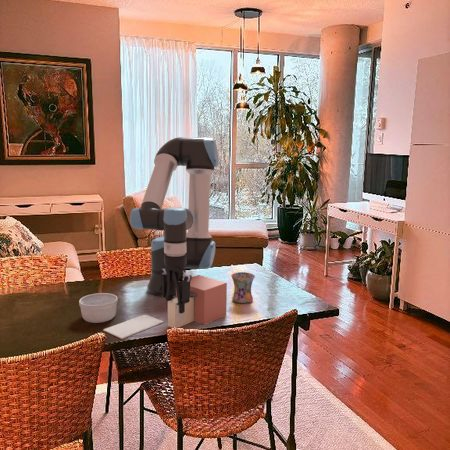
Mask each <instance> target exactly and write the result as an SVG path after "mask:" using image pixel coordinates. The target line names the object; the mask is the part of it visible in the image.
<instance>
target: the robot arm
mask: <svg viewBox="0 0 450 450" xmlns="http://www.w3.org/2000/svg"><path fill="white" fill-rule="evenodd" d="M158 149H159V150H158V151H157V152H156V154H155V156H154V159H153V160H154V161H153V162H154V168H153V170H152V172H151V175H150V179H149V182H148V184H147V186H146V187H147V188H146V191H145V193H144V195H143V198H142V202H141V204H140V207H136V208H132V209H131V211H130V214H129V223H130V226H131V227H132V228H133V229H135V230H143V231H144V230H147V231H148V230H149V231H151V230H153V231H163V235H162V236H159V237H156V238H154V239H152V240H151V244H150V265H151V266H150V267H151V268H150V269H151V272H150V273H151V274H150V277H149V280H148V284H147V293H148V294H150V295H153V296H156V297H157V296H158V297H162V298H164V299H165V300H166V309H167V310H168V301H170V300H173V299H175V298H176V291H177V299H178V303H177V304H176V322H177V323H179V322H181V321H184V312H185V303H188V302H189V301H190V281H191V279H192V277H193V276H192V274H188V273H187V271H186V269H195V270H196V269H198V270H208V269H210V268H211V267H212V266H213V262H214V259H215V255H216V245H217V244H216V242H215V241H214V240H213V236H212V234H210V233H209V227H210V226H209V225H210V219H209V218H210V196H211V191H210V190H211V175H212V174H213V173H214V172H215V168H216V167H218V166H219V152H218V146H217V142H216V140H215V139H214V138H212V137H211V138H210V137H184V136H183V137H181V136H179V137H178V136H177V137H174V138H172V139H170V140H168V141H166V143H164V144H163V145H162V146H161V147H160V148H158ZM179 166H180V167H181V166H183V167H185V170H186V172H187V173H188V174H189V181H188V183H189V184H188V208H186V207H185V208H184V207H179V206H175V207H174V206H172V207H167V208H163V205H164V202H165V199H166V196H167V192H168V188H169V185H170V184H171V180H172V176H173V173H174V172H175V171H176V170H177V169H178V167H179ZM178 281H179V282H178ZM174 296H175V297H174Z"/></svg>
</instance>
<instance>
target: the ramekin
mask: <svg viewBox="0 0 450 450" xmlns="http://www.w3.org/2000/svg"><path fill="white" fill-rule="evenodd" d="M78 305H79V307H80V313H81V317H82V318H83V320H84V321H85V322H87V323H92V324H96V323H97V324H98V323H99V324H100V323H105V322H109V321H110V320H111V321H112V319H114V318H115V316H116V314H117V307H118V296H117V295H115V294H113V293H108V292H98V293H92V294H88V295H85V296H82V297H81V298H80V299H79V301H78Z"/></svg>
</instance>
